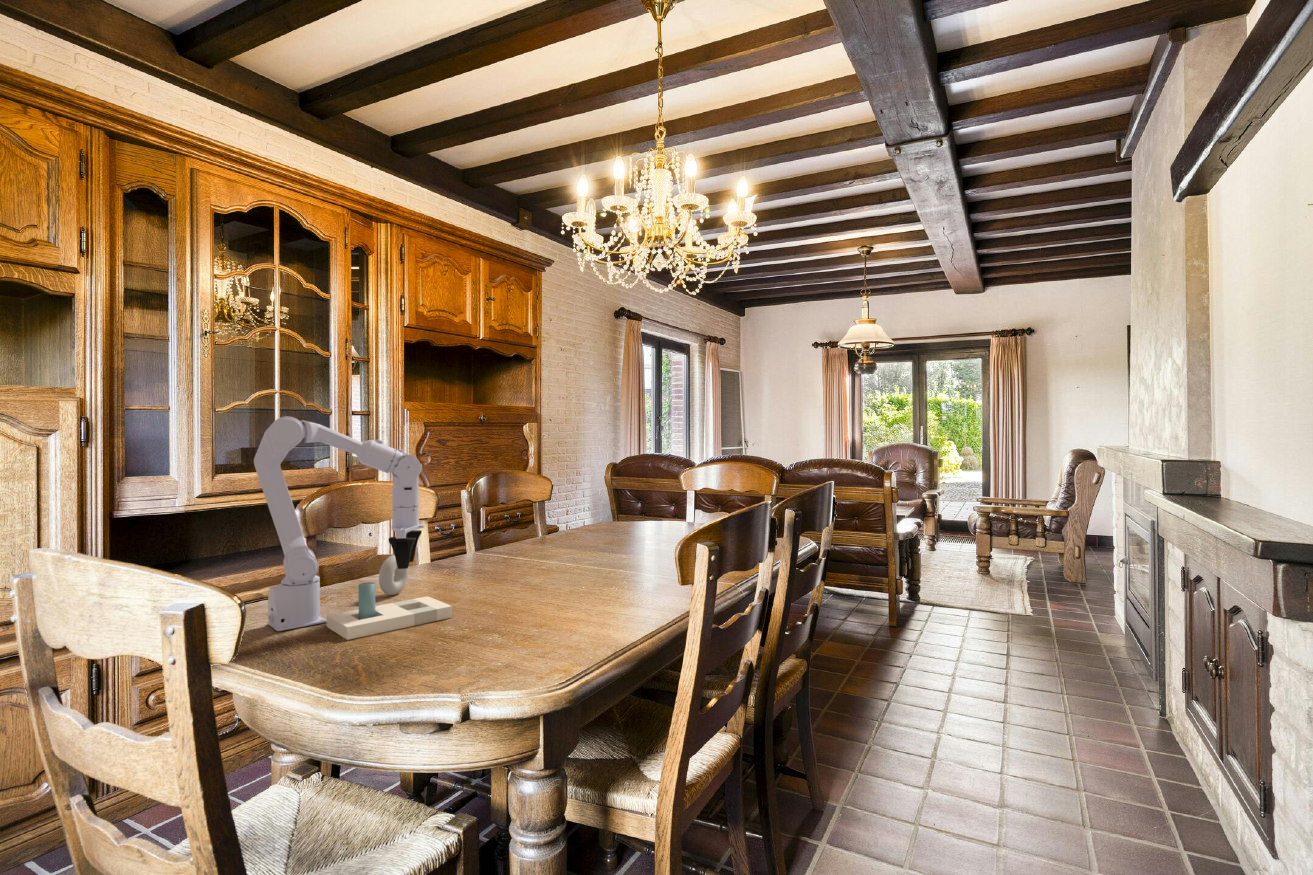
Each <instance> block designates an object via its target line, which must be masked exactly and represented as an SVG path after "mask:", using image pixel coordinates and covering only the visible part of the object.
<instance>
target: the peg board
mask: <svg viewBox="0 0 1313 875" xmlns="http://www.w3.org/2000/svg"><path fill="white" fill-rule="evenodd" d="M451 618H453V606H452V605H451V604H448V603H446V602H443V601H441V600H438V599H435V598H433V597H430V596H421V597H418V598H411V599H405V600H402V601H395V602H391V603H385V604H379V605H375V617H372V618H367V619H362V620H359V608H358V609H352V610H351V609H350V610H347V611H346V610H345V611H342V612H335V613H331V614H326V620H327V622H326V628H328V629H330V630H331V631H333V632H334V633H336V634H337V635H339V636H340V637H342V638H344V639H345V640H347V641H349V640H353V639H357V638H363V637H368V636H372V635H377V634H382V633H386V632H391V631H395V630H401V629H405V628H410V627H414V626H418V625H419V626H420V625H424V624H427V623H433V622H437V621H442V620H446V619H451Z"/></svg>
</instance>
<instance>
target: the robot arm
mask: <svg viewBox="0 0 1313 875" xmlns="http://www.w3.org/2000/svg"><path fill="white" fill-rule="evenodd" d="M303 439H304V440H303ZM302 441H303V443H305V444H307V443H322V444H325V445H327V446H331V447H334V448H336V449H339V450H341V451H345V452H347V453H349V454H353V455H355V456H356V457H357V459H358V462H359V463H360V464H362V465H364V466H368V467H370V468H372V469H375V470H378V471H380V472H383V473H385V474H389V473H391V474H392V476H393V477H392V479H393V480H392V482H393V484H392V507H391V509H392V511H391V512H392V517H391V518H392V522H391V523H392V525H391V531H394V533H395V536H389V538H388V543H389V544H390V546H391V548H392V551H393V555H395V558H396V563H397V567H398V569H407V568H408V569H409V566H410V563H413V562H414V560H415V556H416V551H417V550H416V549H417V545H418V542H419V539H420V537H421V535H422V531H423V530H420V529H424V528H425V524H424V523H420V486H419V481H420V480H419V476H420V474H421V473H422V470H423V466H422V464H421V462H420V459H418V457H416V456H415V455H411V454H408V453H405V452H404V449H401V448H398V449H396V448H394V447H391V446H389V445H386V444H384V443H383V440H380V439H376V440H374V439H368V440H366V441H364V442H362V441H360V440H357V439H355V438H353V437H351V436H348V435H346V434H343V433H341V432H338V431H337V430H335V429H332V428H330V427H327V426H325V425H322V424H319V423H317V422H313V421H307V420H299V419H298V418H295V417H294V416H287V415H286V416H280V417H279V418H277V419H276V420H274V421H273V422H272V424H270V425H269V427H267V429H266V430H265V431H264V433H263V436H262V438H261V440H260V443H259V446H258V448H257V450H256V453H255V456H254V458H253V465H254V466H253V467H254V468H255V471H256V475H257V478H258V480H259V484H260V486H261V489H262V491H263V495H264V498H265V500H266V503H267V506H268V511H269V513H270V516H271V518H272V521H273V524H274V527H275V530H276V534H277V536H278V539H279V542H280V546H281V549H282V552H283V555H284V557H283V562H282V564H283V568H284V569H283V570H284V575H285V576H284V577H283V578H281V582H280V583H278V584H275V585H271V586H269V589H268V592H267V595H268V596H267V600H268V601H267V605H268V606H267V610H268V611H267V614H268V620H267V625H269V626H270V627H271V628H272V629H274V630H276V632H282V631H287V630H288V631H289V630H292V629H298V628H303V627H308V626H314V625H318V624H324V623H327V618H324V617H323V616H321V597H320V596H321V592H320V591H321V589H320V587H321V586H320V584H321V583H320V581H321V580H320V578H321V577H320V576H319V575H317V574H318V572H319V569H320V568H319V567H320V566H319V562H318V560H317V557H316V555H315V553H314V551H313V550H312V549H310V548H309V547H308V544H307V542H306V539H305V535H304V533H303V530H302V528H301V524H300V522H299V519H298V515H297V512H296V509H295V506H294V503H293V500H292V497H291V494H290V491H289V488H288V484H287V481H286V479H285V476H284V473H283V470H282V467H281V464H282V463H283V461H284V460H285V458H286V457H287V456H288V453H289V452H290V451H291V450H292V449H294V448H295V447H296V446H297V445H299V444H300V443H302Z"/></svg>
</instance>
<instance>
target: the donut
mask: <svg viewBox="0 0 1313 875" xmlns="http://www.w3.org/2000/svg"><path fill="white" fill-rule="evenodd" d="M408 577H409V567H408V568H407V569H398V567H397V563H396V558H395V554H393V555H392V554H391V555H390V556H389V557H387V558H386V559H385V560H384V561H383V562H382V564H381V566H380V570H379V573H378V584H379V587H380V589H381V591H382V592H383V593H384V594H385V595H387V596H396V595H398V594H399V593H401V592H402V591H403V589H404V588H405V586H406V584H407V582H408Z"/></svg>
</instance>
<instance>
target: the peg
mask: <svg viewBox="0 0 1313 875" xmlns="http://www.w3.org/2000/svg"><path fill="white" fill-rule="evenodd" d="M357 588H358V590H357V591H358V609H359V620H362V619H367V618H372V617H375V606H376V582H369V581H368V582H361V583H359V584H358V586H357Z"/></svg>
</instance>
